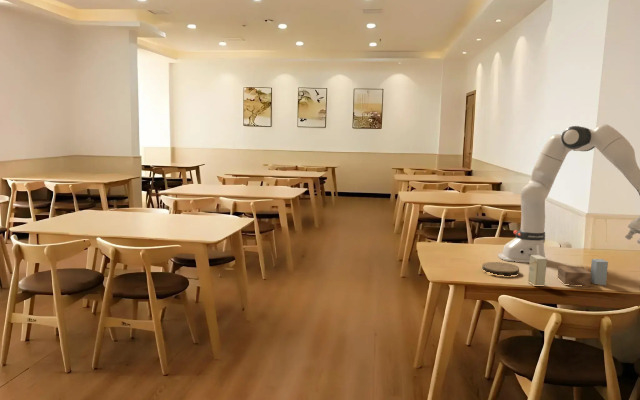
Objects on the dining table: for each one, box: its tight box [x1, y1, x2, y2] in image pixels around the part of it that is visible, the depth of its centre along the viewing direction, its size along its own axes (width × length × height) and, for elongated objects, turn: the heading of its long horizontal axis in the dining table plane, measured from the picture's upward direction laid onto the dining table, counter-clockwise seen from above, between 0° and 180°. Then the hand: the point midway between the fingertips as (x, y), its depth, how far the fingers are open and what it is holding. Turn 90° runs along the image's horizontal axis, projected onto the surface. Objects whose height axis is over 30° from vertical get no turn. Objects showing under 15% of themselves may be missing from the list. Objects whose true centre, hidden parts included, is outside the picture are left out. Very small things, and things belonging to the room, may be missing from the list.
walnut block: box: [557, 265, 591, 287], centre depth 213 cm, size 10×10×6 cm
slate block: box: [590, 258, 609, 286], centre depth 212 cm, size 4×4×10 cm
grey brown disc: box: [481, 261, 520, 276], centre depth 229 cm, size 16×16×3 cm
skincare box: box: [527, 255, 548, 286], centre depth 209 cm, size 6×4×12 cm
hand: (632, 240), depth 209 cm, fingers open, 8 cm apart
